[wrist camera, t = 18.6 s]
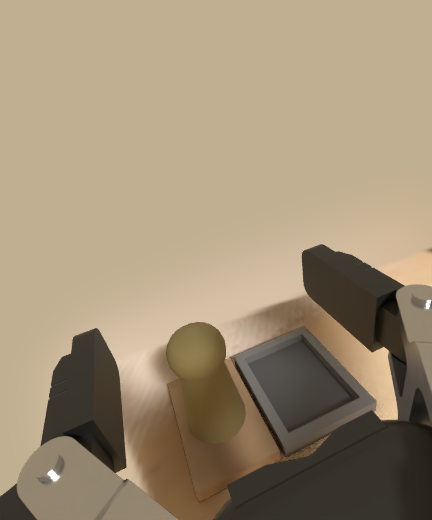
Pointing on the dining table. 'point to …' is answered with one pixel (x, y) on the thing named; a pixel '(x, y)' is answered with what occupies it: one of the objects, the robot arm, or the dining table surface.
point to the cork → (206, 383)
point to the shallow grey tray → (301, 389)
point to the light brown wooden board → (225, 444)
